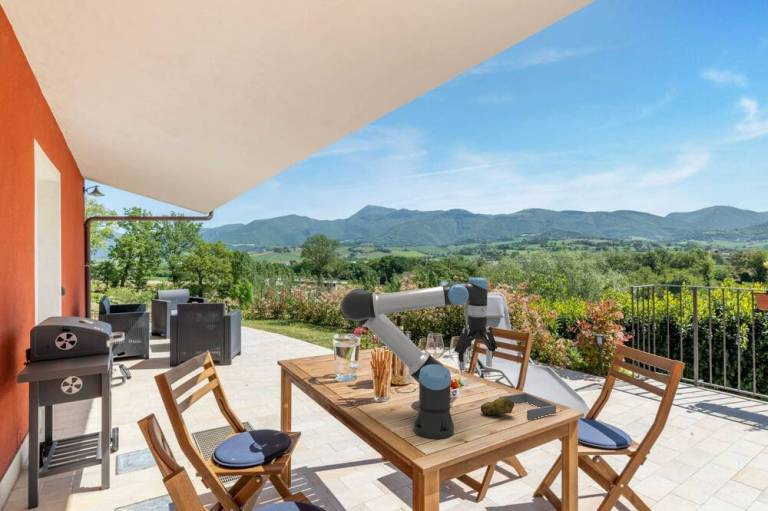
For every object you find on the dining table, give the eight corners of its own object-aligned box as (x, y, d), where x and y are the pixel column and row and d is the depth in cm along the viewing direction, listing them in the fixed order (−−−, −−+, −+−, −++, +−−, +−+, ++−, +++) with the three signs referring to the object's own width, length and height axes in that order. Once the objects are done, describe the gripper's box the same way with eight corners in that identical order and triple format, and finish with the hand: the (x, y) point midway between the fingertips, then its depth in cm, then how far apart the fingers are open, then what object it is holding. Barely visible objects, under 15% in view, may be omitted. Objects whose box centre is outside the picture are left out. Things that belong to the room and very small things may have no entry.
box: (528, 420, 173) (528, 410, 173) (498, 405, 189) (499, 396, 189) (555, 414, 180) (556, 405, 180) (525, 401, 196) (525, 392, 196)
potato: (486, 409, 184) (486, 390, 184) (515, 416, 177) (516, 397, 177) (478, 415, 178) (479, 395, 178) (509, 422, 170) (509, 402, 170)
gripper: (458, 318, 164) (456, 373, 164) (507, 315, 175) (505, 367, 176) (446, 315, 171) (445, 368, 171) (494, 313, 182) (493, 362, 182)
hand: (475, 368), depth 173 cm, fingers open, 13 cm apart
